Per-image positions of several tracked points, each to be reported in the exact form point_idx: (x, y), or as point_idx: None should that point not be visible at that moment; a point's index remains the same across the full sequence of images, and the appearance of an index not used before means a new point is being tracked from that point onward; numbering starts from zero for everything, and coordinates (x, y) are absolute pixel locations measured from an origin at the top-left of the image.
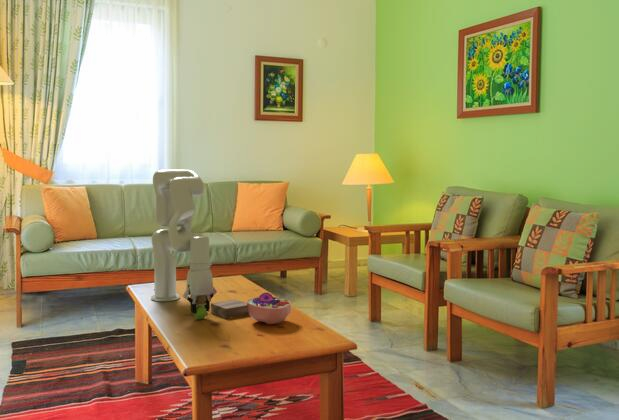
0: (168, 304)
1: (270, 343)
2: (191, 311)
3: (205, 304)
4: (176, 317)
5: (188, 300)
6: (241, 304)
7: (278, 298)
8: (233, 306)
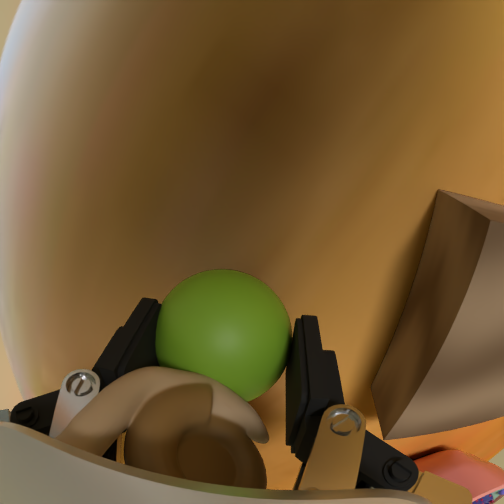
0: None
1: None
2: (142, 303)
3: (257, 431)
4: (100, 114)
5: (45, 405)
6: None
7: (499, 495)
8: (464, 412)
